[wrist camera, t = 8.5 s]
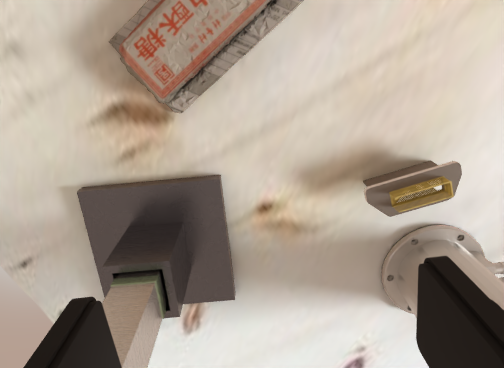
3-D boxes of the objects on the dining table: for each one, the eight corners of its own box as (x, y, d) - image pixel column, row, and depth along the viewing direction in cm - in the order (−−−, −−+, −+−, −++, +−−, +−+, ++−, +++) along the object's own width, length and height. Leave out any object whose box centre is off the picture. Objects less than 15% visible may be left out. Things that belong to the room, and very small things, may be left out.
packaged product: (172, 123, 37) (93, 41, 34) (180, 115, 41) (111, 42, 39) (317, -12, 33) (242, -116, 30) (309, -4, 38) (242, -94, 35)
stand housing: (220, 174, 43) (213, 209, 34) (235, 292, 49) (232, 350, 39) (82, 187, 43) (37, 225, 34) (112, 303, 49) (80, 363, 39)
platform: (479, 199, 45) (516, 223, 39) (333, 241, 47) (347, 270, 41) (467, 103, 41) (506, 113, 35) (309, 153, 43) (320, 170, 37)
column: (165, 256, 39) (113, 391, 23) (172, 290, 40) (127, 439, 25) (125, 259, 39) (46, 396, 23) (133, 294, 40) (64, 444, 25)
